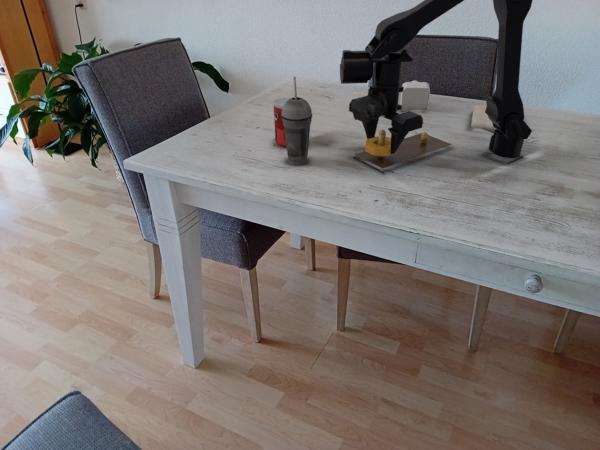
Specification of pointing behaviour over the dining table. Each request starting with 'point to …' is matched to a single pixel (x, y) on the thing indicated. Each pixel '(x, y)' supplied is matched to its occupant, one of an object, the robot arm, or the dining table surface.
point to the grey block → (415, 95)
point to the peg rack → (403, 150)
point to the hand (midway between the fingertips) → (381, 148)
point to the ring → (378, 147)
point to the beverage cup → (297, 128)
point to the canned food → (279, 121)
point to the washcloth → (481, 119)
